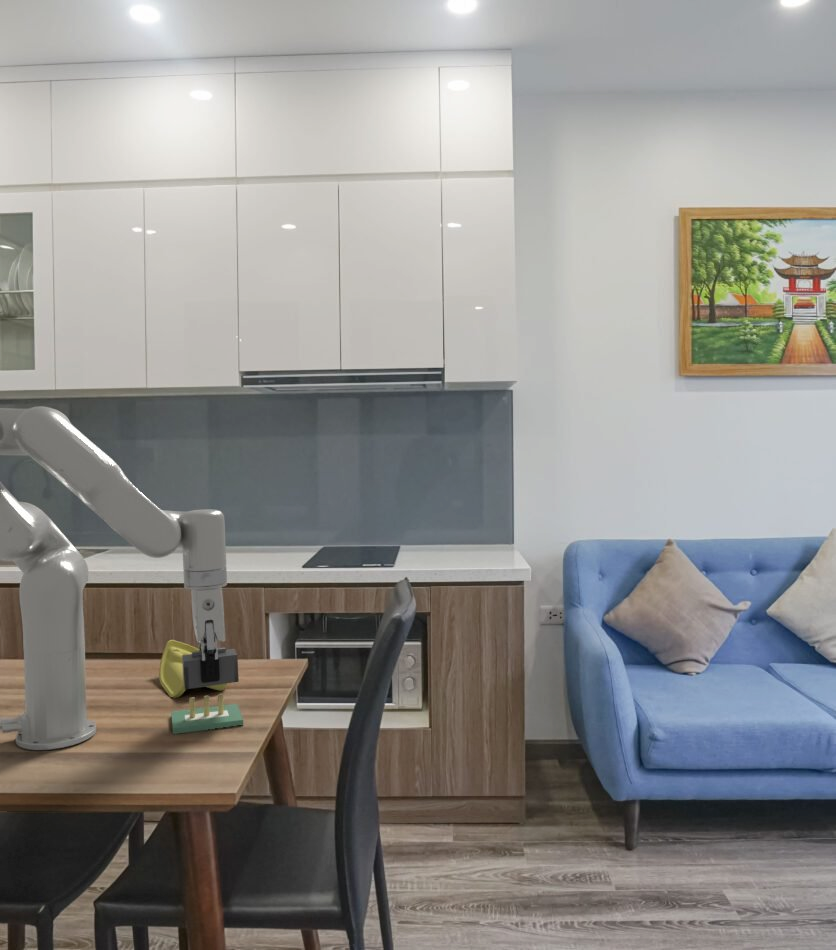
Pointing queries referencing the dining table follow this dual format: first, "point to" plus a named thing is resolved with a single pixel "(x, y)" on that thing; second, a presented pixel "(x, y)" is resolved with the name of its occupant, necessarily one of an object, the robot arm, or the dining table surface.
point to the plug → (226, 668)
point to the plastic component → (176, 668)
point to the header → (206, 716)
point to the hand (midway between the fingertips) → (209, 676)
